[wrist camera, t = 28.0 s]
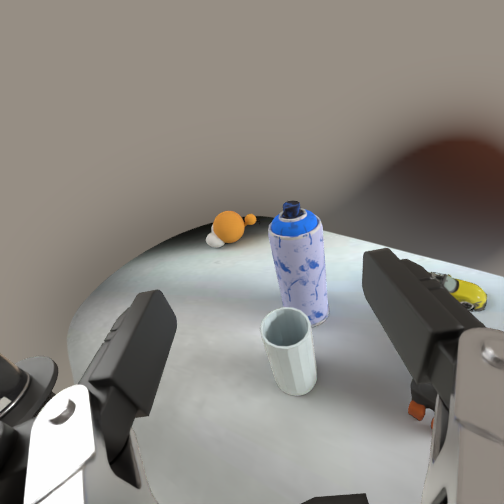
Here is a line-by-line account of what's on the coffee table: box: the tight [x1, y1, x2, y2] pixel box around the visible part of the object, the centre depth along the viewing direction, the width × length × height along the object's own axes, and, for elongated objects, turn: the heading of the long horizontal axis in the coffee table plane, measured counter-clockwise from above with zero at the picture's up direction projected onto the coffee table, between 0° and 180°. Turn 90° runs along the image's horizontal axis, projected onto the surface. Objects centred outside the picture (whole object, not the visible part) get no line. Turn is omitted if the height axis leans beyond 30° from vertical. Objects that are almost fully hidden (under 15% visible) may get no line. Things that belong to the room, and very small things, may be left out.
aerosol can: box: [268, 201, 329, 327], centre depth 36 cm, size 8×8×20 cm
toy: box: [206, 211, 260, 248], centre depth 67 cm, size 9×10×15 cm
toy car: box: [428, 272, 487, 311], centre depth 37 cm, size 5×10×3 cm, turn 48°
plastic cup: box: [260, 307, 317, 396], centre depth 30 cm, size 6×6×10 cm
